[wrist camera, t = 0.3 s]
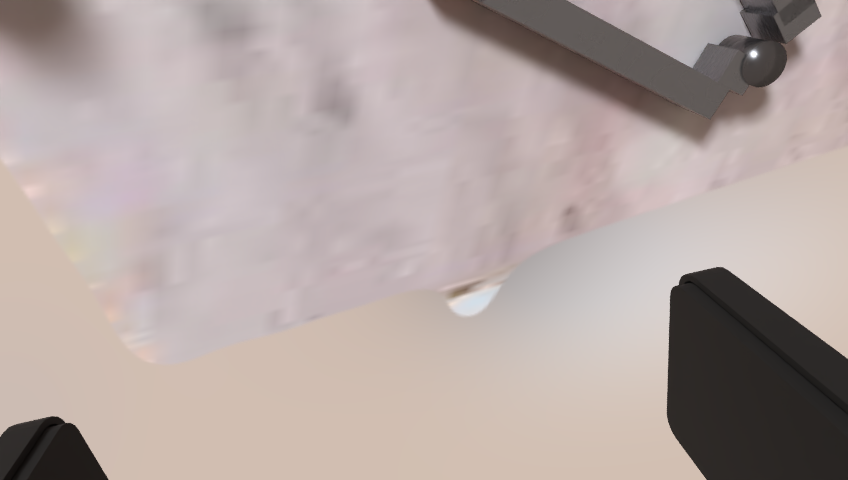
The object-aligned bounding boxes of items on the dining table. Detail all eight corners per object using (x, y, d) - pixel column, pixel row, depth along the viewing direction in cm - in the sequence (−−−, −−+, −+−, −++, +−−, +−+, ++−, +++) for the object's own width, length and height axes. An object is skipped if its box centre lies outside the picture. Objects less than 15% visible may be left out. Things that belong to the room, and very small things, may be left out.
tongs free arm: (449, -136, 29) (460, -147, 26) (759, 45, 35) (795, 52, 32) (408, -33, 31) (414, -32, 28) (709, 121, 37) (739, 134, 34)
